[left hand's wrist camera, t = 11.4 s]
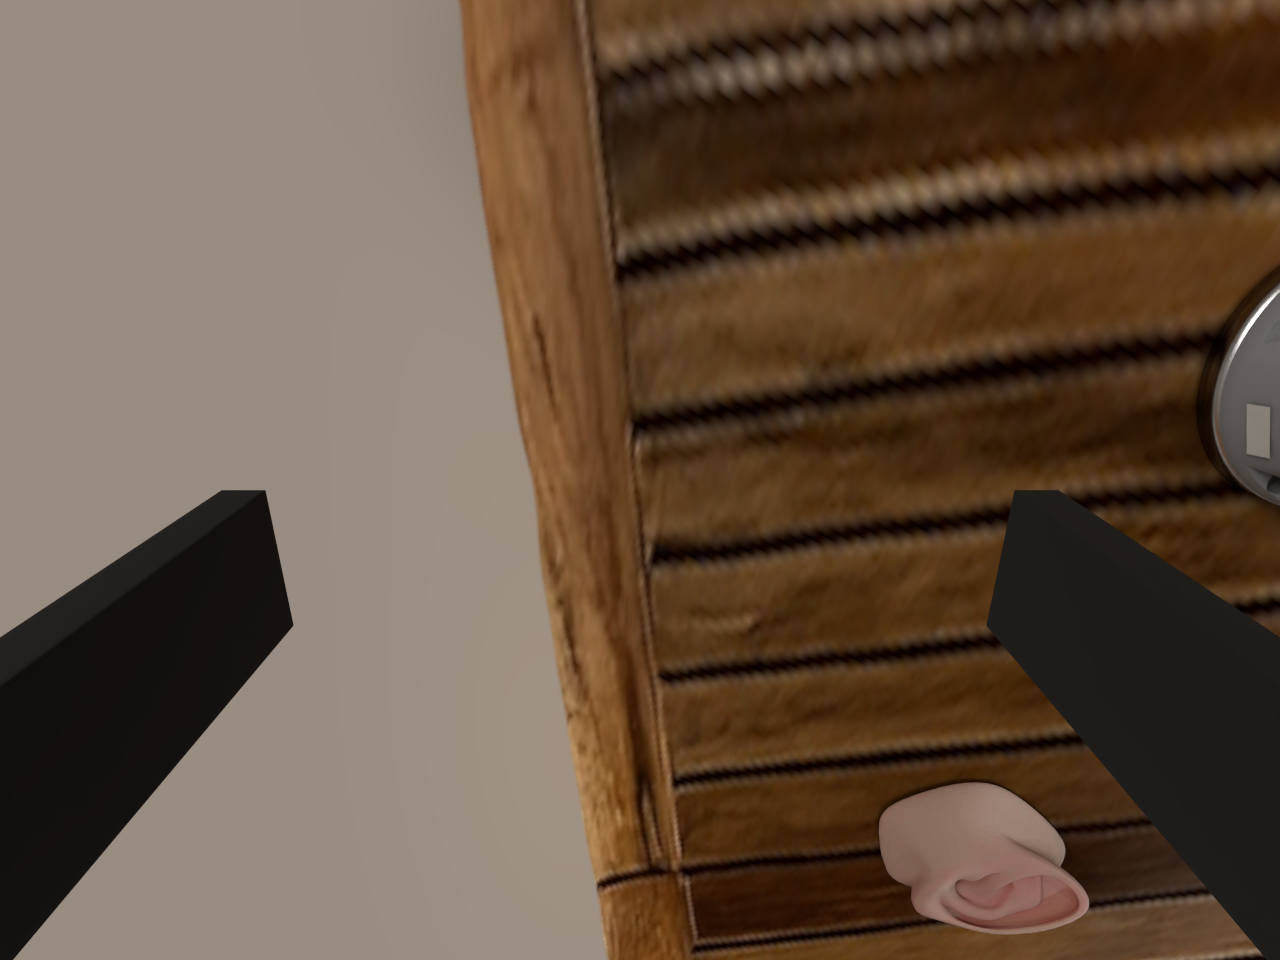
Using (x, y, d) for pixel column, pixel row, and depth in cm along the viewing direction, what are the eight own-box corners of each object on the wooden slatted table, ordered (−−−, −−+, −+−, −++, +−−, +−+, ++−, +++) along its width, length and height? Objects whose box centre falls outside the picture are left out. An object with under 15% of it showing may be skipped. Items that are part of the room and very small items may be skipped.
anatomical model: (865, 876, 46) (1023, 793, 43) (848, 827, 50) (993, 747, 47) (963, 983, 50) (1114, 912, 47) (940, 930, 53) (1079, 861, 51)
